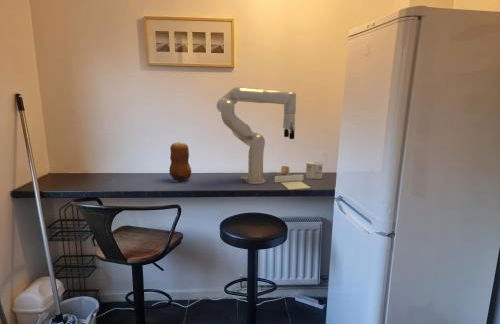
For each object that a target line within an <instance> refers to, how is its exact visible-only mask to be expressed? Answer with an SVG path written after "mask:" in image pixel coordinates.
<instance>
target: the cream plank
mask: <svg viewBox="0 0 500 324" xmlns="http://www.w3.org/2000/svg"><path fill="white" fill-rule="evenodd" d="M303 181H304V174H289V175H286V176H281V175H275V176H274V183H285V182H303Z"/></svg>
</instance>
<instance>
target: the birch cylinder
mask: <svg viewBox="0 0 500 324" xmlns="http://www.w3.org/2000/svg"><path fill="white" fill-rule="evenodd" d="M286 175H290V166H287V165H282V166H281V168H280V176H286Z"/></svg>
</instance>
